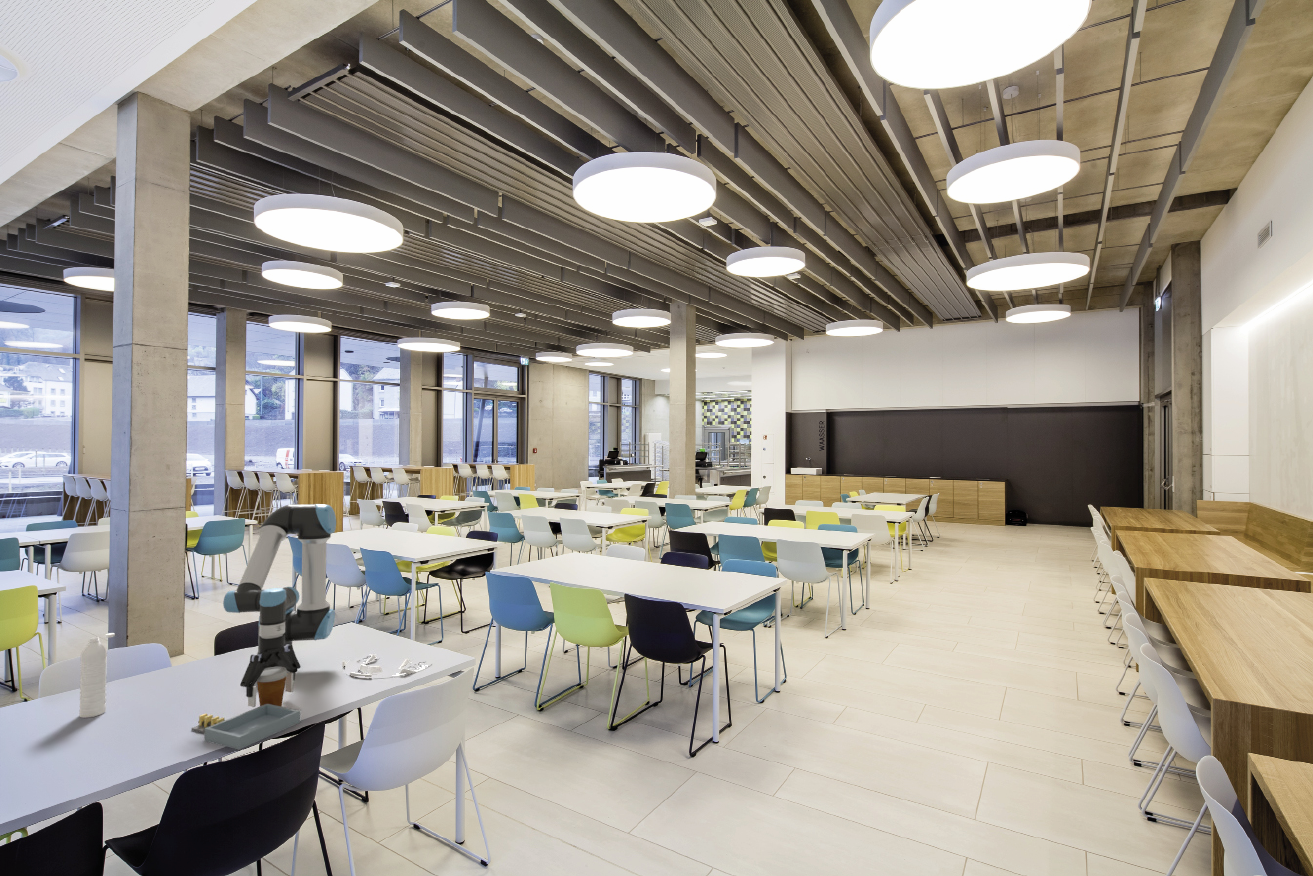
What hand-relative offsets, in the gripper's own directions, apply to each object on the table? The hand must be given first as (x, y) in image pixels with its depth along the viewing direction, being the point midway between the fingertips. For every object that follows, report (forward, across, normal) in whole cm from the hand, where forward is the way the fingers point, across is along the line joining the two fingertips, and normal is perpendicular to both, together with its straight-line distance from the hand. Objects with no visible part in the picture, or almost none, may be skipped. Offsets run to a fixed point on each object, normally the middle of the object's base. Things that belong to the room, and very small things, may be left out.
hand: (271, 698), depth 215 cm
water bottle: (+3, -25, +48) cm, 54 cm away
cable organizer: (+3, +44, -5) cm, 44 cm away
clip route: (+3, -19, +1) cm, 19 cm away
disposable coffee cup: (+3, 0, 0) cm, 3 cm away
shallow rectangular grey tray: (+3, -15, -12) cm, 19 cm away
